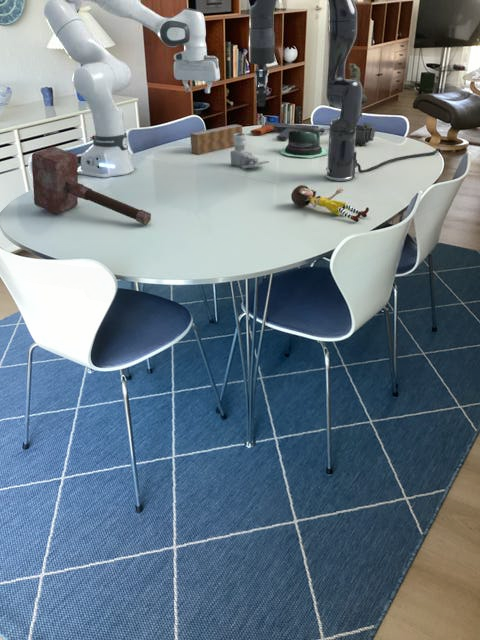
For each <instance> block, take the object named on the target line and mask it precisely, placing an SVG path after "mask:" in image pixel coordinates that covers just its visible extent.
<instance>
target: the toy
mask: <svg viewBox="0 0 480 640" xmlns="http://www.w3.org/2000/svg"><path fill="white" fill-rule="evenodd" d="M375 133H376V129H375V127H374V126H372V123H370V122H363V124H358V125H357V127H356V138H355V145H358V146H359V145H360V146H366V144H367V143H369V142H373V140H374V138H375Z"/></svg>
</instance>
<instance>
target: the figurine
mask: <svg viewBox="0 0 480 640" xmlns="http://www.w3.org/2000/svg"><path fill="white" fill-rule="evenodd" d="M342 192H344V188H342V187H340V188H339V189H336V191H335V193H333V194H332V195H331V196H329V197H324V196H321V195H318V196H316V195H317V193H318V192H317V191H316V190H314V189H310V188H309V187H308V186H307V185H304V184H300V185H298V186H296V187H295V188H294V189H293V190H292V192H291V195H290V198H291V201H292V203H293V204H294V206H297V207H306V206H309V205H312V207H313V208H316V207H317V206H318V207H321V208H322V207H323V208H326V209H327V210H328V211H330V212H332V213H333V214H335V215H337V216H340V214H341V215H342V216H344V217H345V218H348V219H350V220H352V221H353V222H356V223H358V222H359V221H360V219H359V218H360V217H362V218H367V214H368V212H369V211H370V207H366V208H365V210H358V209H356V208H354V207H353V206H351V205H349V204H347V202H344V201H338V200H332V199H333V198H335V197H336V196H337V195H340V194H341V193H342ZM346 210H348V211H349V212H350V213H353V215H351V214H350V213H348V212H347V211H346ZM354 214H356V215H354Z"/></svg>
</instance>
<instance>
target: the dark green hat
mask: <svg viewBox="0 0 480 640" xmlns="http://www.w3.org/2000/svg"><path fill="white" fill-rule="evenodd" d="M320 133H321V132H319V131H318V130H316V129H311V128H298V129H294V130H291V131H289V137H288V139H287V140H288V141H287V142H288V143H287V145H286V146H285V147H283V148H281V149H280V150H279V153H280V154H282V155H285V156H289V157H296V158H297V157H298V158H307V159H309V158H310V159H311V158H313V159H314V158H317V157H323V156H326V155H327V154H328V149H327V150H326V149H325V148H322V146H321V144H320V142H321V135H320Z"/></svg>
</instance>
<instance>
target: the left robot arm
mask: <svg viewBox="0 0 480 640" xmlns="http://www.w3.org/2000/svg"><path fill="white" fill-rule="evenodd" d="M85 1H87V2H91V3H93V4H94V5H95V6H97V7H98V8H100V9H102V10H104V11H105V12H107V13H109V14H111V15H114V16H116V17H118V18H123V19H129V20H133V21H135V22H137V23H139V24H141V25H142V26H143V27H145V28H147V29H149V30H151V31H152V32H154V33H155V35H157V38H158V39H159V40H160V42H162V43H163V44H164V45H166V46H167V47H170V48H177V47H179V46H181V45H183V50H182V51H180V52H177V53H175V54H174V55H173V59H174V63H173V76H174V78H175V80H177V81H178V80H179V81H182V84H183V86H184V88H185V92H186V93H191V92H192V90H191V88H192V87H191V86H189V84H188V83H189V81H196V82H206V85H207V86H206V88H204V93H205V94H210V93H211V88H212V85H213V82H214V83H215V82H219V81H220V79H221V72H220V67H219V63H220V62H219V59H218V57H217V56H215V55H208V52H207V51H208V47H207V42H206V37H207V30H206V21H205V16H204V14H203V12H202V11H200V10H198V9H194V8H188V7H186V8H184V9H182V11H180V12H179V13H178V14H176V15H174V16H172V17H167V16H162V15H160V14H158V13H156V12H155V11H153V10H151V9H150V8H149V7H147V6H145V5H144V4H143V3H141V2H140V1H139V0H85ZM83 2H84V0H47V2H46V3H45V5H44V7H43V15H44V18H45V19H46V21H47V23H48V24H47V25H48V26H49V27H50V29H51V31H52V33H53V34H54V36H55V38H56V39H57V41H58V42H59V43H60V45H61V46H62V48H63V49H64V51H65V53H66V54H67V55H68V56H69V58H70V59H71V60H72V61H74V62H77V63H78V64H80V66H79V67H77V68H76V69H75V70H74V72H73V74H72V84H73V87H74V89H75V91H76V92H77V93H78V94H79V95H80V96H81V97H83V99H84V100H85V101H86V104H87V105H88V107H89V110H90V112H91V115H92V121H93V126H94V133H95V134H93V135H92V136H90V137H89V141H92V145H91V146H90V147H88V148H87V149H86V150H85V151H84V152H83V153H79V154H77V155H76V156H77V158H78V164H79V165H80V166H78V175H85V176H90V177H97V178H111V177H116V176H124V175H128V174H130V173H133V172H134V171H135V168H134V165H133V164H132V160H131V156H130V152H129V142H128V135H127V132H126V126H125V119H124V118H125V117H124V112H123V110H122V109H121V107H118V106H117V105H116V102H115V101H114V98H113V94H115V93H119V92H122V91H123V90H125V89H126V88H127V87H129V85H130V84H131V82H132V72H131V69H130V67H129V66H128V64H127V63H125V62H124V61H123V60H120V59H119V58H116V56H114V55H112V54H111V53H110V52H109V51H108V50H107V49H106V48H105V47H104V46H103V45H102V44H101V43H100V42H99V41H98V40H97V39H96V37H95V36H94V35H93V33H92V32H91V30H90V29H89V28H88V26H87V24H86V23H85V22H84V21H83V19H82V17H81V16H80V15H79V11H80V8H81V7H82V4H83Z"/></svg>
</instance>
